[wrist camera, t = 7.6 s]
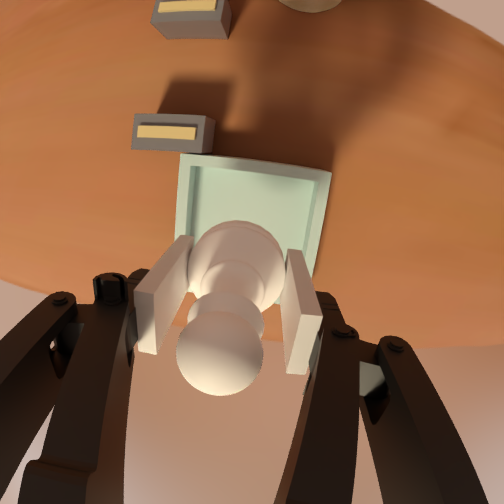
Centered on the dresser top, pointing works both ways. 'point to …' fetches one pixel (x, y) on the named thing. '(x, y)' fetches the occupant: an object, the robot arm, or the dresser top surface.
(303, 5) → the flower pot
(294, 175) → the tray
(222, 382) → the chess pawn
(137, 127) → the fuse holder
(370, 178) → the dresser top surface
